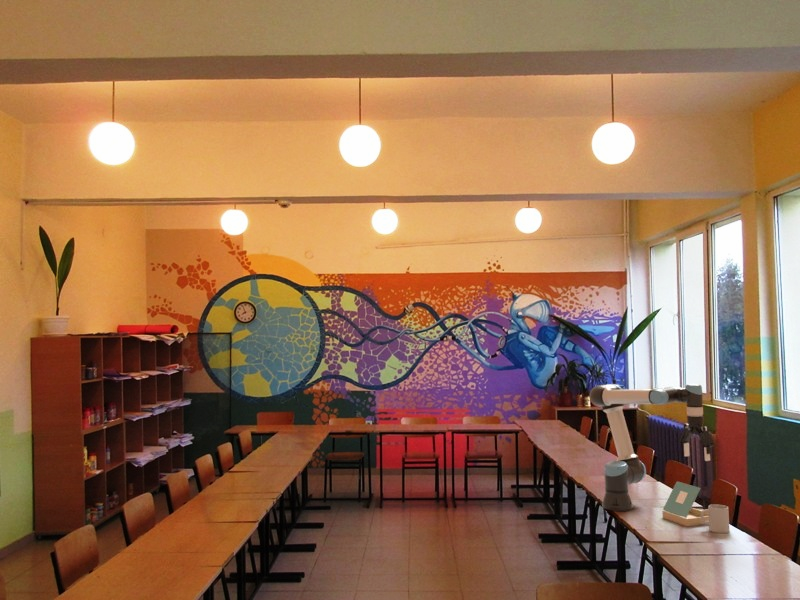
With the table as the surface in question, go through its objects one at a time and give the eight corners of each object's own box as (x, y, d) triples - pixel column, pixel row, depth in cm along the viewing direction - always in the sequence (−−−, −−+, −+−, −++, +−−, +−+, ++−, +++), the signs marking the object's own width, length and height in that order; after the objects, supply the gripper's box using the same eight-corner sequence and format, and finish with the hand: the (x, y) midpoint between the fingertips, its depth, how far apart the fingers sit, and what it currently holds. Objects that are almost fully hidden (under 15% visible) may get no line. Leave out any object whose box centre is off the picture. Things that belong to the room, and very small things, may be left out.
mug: (726, 528, 319) (725, 504, 319) (731, 533, 310) (730, 509, 311) (699, 527, 321) (698, 503, 321) (703, 532, 312) (702, 508, 313)
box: (687, 526, 322) (687, 519, 322) (662, 517, 338) (662, 510, 338) (715, 522, 328) (715, 515, 328) (690, 514, 344) (689, 507, 344)
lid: (686, 517, 323) (685, 517, 323) (663, 509, 338) (662, 509, 337) (700, 488, 326) (699, 487, 326) (677, 481, 341) (676, 481, 341)
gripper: (720, 417, 330) (722, 461, 328) (682, 412, 353) (684, 453, 352) (708, 418, 327) (710, 463, 326) (671, 413, 350) (672, 455, 349)
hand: (697, 458), depth 339 cm, fingers open, 13 cm apart
